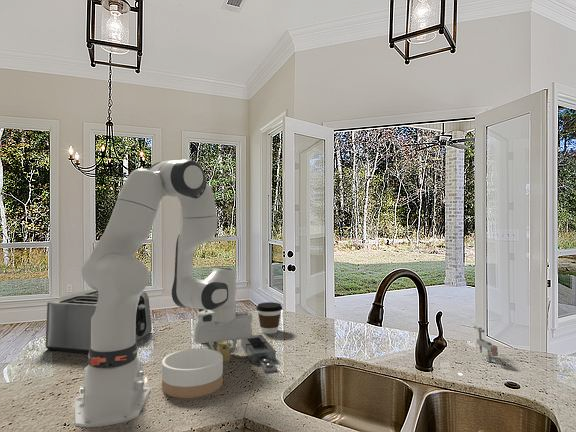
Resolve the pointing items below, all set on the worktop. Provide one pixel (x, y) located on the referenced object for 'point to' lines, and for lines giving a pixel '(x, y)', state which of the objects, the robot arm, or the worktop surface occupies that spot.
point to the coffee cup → (269, 316)
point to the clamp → (486, 345)
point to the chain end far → (254, 342)
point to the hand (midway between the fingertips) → (223, 353)
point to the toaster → (84, 321)
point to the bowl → (192, 373)
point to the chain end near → (263, 357)
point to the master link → (224, 350)
